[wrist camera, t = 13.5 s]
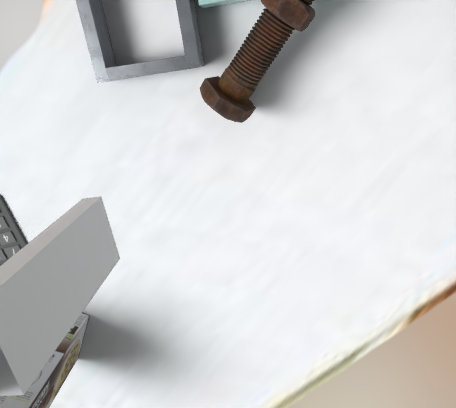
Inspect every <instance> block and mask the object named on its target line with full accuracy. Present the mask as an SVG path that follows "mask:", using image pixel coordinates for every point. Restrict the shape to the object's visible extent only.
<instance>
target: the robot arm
mask: <svg viewBox="0 0 456 408" xmlns="http://www.w3.org/2000/svg"><path fill="white" fill-rule="evenodd" d="M119 259H120V257H119V254H118V250H117V247H116V244H115V241H114V237H113V234H112V231H111V227H110V224H109V221H108V217H107V214H106V211H105V208H104V204H103V201H102V198H101V197H94V198H86V199H82V200H81V201H80V202H78V203H77V204H76V205H75V206H73V207H72V208H71V209H70V210H69V211H67V212H66V213H65V214H64V215H62V216H61V217H60V218H59V219H57V220H56V221H55V222H54V223H53V224H51V225H50V226H49V227H48V228H46V229H45V230H44V231H43V232H42V233H40V234H39V235H38V236H37V237H35V238H34V239H33V240H32V241H30V242H29V243H28V244H27V245H26V246H24V247H23V248H22V249H21V250H19V251H18V252H17V253H16V254H15V255H13V256H12V257H11V258H10V259H8V260H7V261H6V262H5V263H4V264H2V265H1V266H0V396H11V395H24V394H25V393H26V391H27V390H28V388H29V387H30V385H31V384H32V383H33V381H34V380H35V378H36V377H37V376H38V374H39V373H40V371H41V370H42V368H43V367H44V366H45V364H46V363H47V361H48V360H49V358H50V357H51V356H52V354H53V353H54V351H55V350H56V349H57V347H58V346H59V344H60V343H61V341H62V340H63V339H64V337H65V336H66V334H67V333H68V332H69V330H70V329H71V327H72V326H73V324H74V323H75V322H76V320H77V319H78V317H79V316H80V314H81V313H82V312H83V310H84V309H85V307H86V306H87V305H88V303H89V302H90V300H91V299H92V297H93V296H94V295H95V293H96V292H97V290H98V289H99V287H100V286H101V285H102V283H103V282H104V280H105V279H106V278H107V276H108V275H109V273H110V272H111V270H112V269H113V268H114V266H115V265H116V263H117V262H118V260H119Z"/></svg>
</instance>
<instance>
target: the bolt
mask: <svg viewBox="0 0 456 408" xmlns="http://www.w3.org/2000/svg"><path fill="white" fill-rule="evenodd" d="M311 1H314V0H261V2H262V4H263V5H264V6H265V7H266V9H263V10H264V12H263V13H261V14H262V16H259V19H260V20H257V23H255V27H252V28H253V30H250V33H249V34H248V37H246V40H244V43H245V44H242V47H240V50H238V53H237V54H236V56H235V57H234V60H232V63H230V66H228V68H226V69H225V71H224V73H223V74H222V76H221V78H220V77H218V76H217V77H212V78H206V79H205V80H204V82H203V83H202V85H201V87H200V92H201V95H202V98H203V100H204V101H205V102H206V103H207V104H208V105H209V106H210V107H211V108H212V109H213V110H215V111H216V112H217V113H219V114H220V115H221V116H223V117H224V118H226V119H228V120H232V121H235V122H244V121H245V120H246V119H248V118H249V117H250V115H251V114H252V113H253V111H254V110H255V108H256V107H255V106H254V105H253V103H252V102H251V101H250V100H249V98H250V97H251V95H252V94H253V92H254V91H255V88H256V86H257V85H258V83H259V81H260V80H261V78H262V77H263V75H264V74H265V73H266V70H268V67H270V64H272V61H274V58H276V57H277V56H276V55H277V54H279V52H278V51H281V48H282V47H283V44H285V41H287V40H288V38H287V37H290V34H292V30H295V29H296V30H298V31H303V30H305V29H306V28H307V27H308V25H309V24H310V22H311V21H312V19H313V18H314V16H315V10H314V9H313V8H312V7H311V6H309V5H311V4H312V2H311Z"/></svg>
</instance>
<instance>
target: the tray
mask: <svg viewBox="0 0 456 408" xmlns="http://www.w3.org/2000/svg"><path fill="white" fill-rule="evenodd" d="M243 1H249V0H198V2H199V6H201V7H202V8H209V7H214V6H220V5H226V4H232V3H237V2H243Z"/></svg>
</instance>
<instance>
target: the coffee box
mask: <svg viewBox="0 0 456 408" xmlns="http://www.w3.org/2000/svg"><path fill="white" fill-rule="evenodd" d="M88 318H89V316H88V315H86V314H83V313H81V314H80V316H79V317H78V319H77V320H76V322H75V323H74V324H73V326H72V327H71V329H70V330H69V332H68V333H67V334H66V336H65V337H64V339H63V340H62V341H61V343H60V344H59V346H58V347H57V349H56V350H55V351H54V353H53V354H52V356H51V357H50V358H49V360H48V361H47V363H46V364H45V366H44V367H43V368H42V370H41V371H40V373H39V374H38V376H37V377H36V378H35V380H34V381H33V383H32V384H31V385H30V387H29V388H28V390H27V391H26V393H25V394H24V395H11V396H0V408H49V407H50V405H51V403H52V402H53V400H54V398H55V397H56V395H57V393H58V391H59V390H60V388H61V386H62V384H63V383H64V381H65V379H66V378H67V376H68V374H69V373H70V371H71V369H72V367H73V366H74V364H75V362H76V361H77V359H78V356H79V352H80V348H81V345H82V341H83V337H84V333H85V330H86V326H87V322H88Z"/></svg>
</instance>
